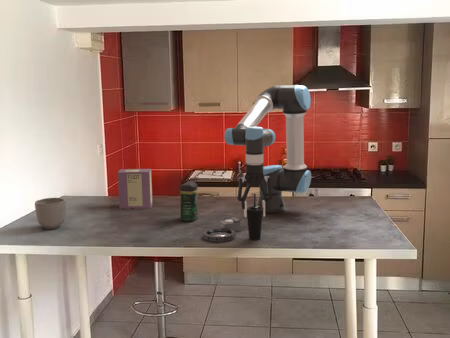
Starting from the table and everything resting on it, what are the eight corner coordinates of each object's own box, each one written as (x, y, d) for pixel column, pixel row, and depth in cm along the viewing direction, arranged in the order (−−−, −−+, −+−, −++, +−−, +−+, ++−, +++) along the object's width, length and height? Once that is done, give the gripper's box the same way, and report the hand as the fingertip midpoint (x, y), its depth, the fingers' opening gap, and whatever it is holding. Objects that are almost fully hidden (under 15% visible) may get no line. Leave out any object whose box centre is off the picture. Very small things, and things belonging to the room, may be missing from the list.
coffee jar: (194, 222, 254) (193, 184, 250) (178, 221, 255) (177, 184, 252) (199, 217, 263) (199, 180, 260) (184, 216, 265) (183, 180, 261)
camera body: (235, 227, 245) (235, 217, 244) (240, 230, 240) (240, 220, 239) (219, 229, 243) (219, 218, 242) (224, 232, 237) (224, 222, 236)
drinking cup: (244, 236, 231) (244, 191, 227) (262, 235, 232) (262, 191, 228) (247, 241, 224) (247, 195, 220) (264, 240, 224) (265, 195, 221)
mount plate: (233, 231, 238) (233, 227, 237) (237, 241, 224) (237, 236, 223) (202, 233, 236) (202, 228, 236) (204, 242, 223) (204, 237, 222)
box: (152, 204, 291) (151, 168, 287) (150, 208, 282) (149, 171, 278) (122, 204, 290) (120, 169, 287) (119, 209, 281) (117, 172, 278)
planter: (39, 233, 239) (37, 205, 237) (34, 226, 251) (32, 199, 249) (70, 229, 245) (68, 202, 243) (64, 222, 257) (62, 196, 255)
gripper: (276, 161, 226) (275, 212, 230) (229, 162, 224) (230, 214, 228) (279, 164, 219) (279, 217, 223) (231, 165, 217) (232, 219, 221)
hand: (254, 215), depth 226 cm, fingers closed on drinking cup, 7 cm apart
